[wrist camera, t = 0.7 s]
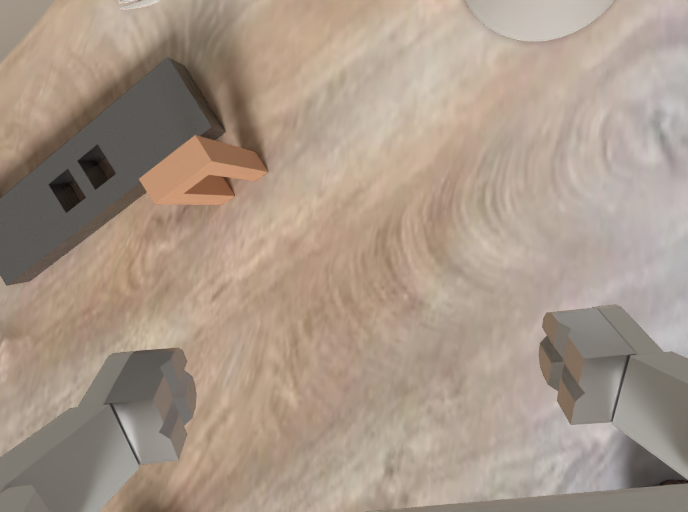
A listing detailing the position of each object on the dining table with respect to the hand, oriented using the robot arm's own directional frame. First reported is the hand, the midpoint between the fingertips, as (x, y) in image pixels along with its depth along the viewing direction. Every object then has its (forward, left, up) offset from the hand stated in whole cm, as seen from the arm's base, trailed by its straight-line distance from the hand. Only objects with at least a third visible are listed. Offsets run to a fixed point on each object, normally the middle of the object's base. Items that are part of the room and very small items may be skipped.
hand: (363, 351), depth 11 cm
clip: (-4, -19, -35) cm, 41 cm away
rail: (-2, -35, -35) cm, 50 cm away
